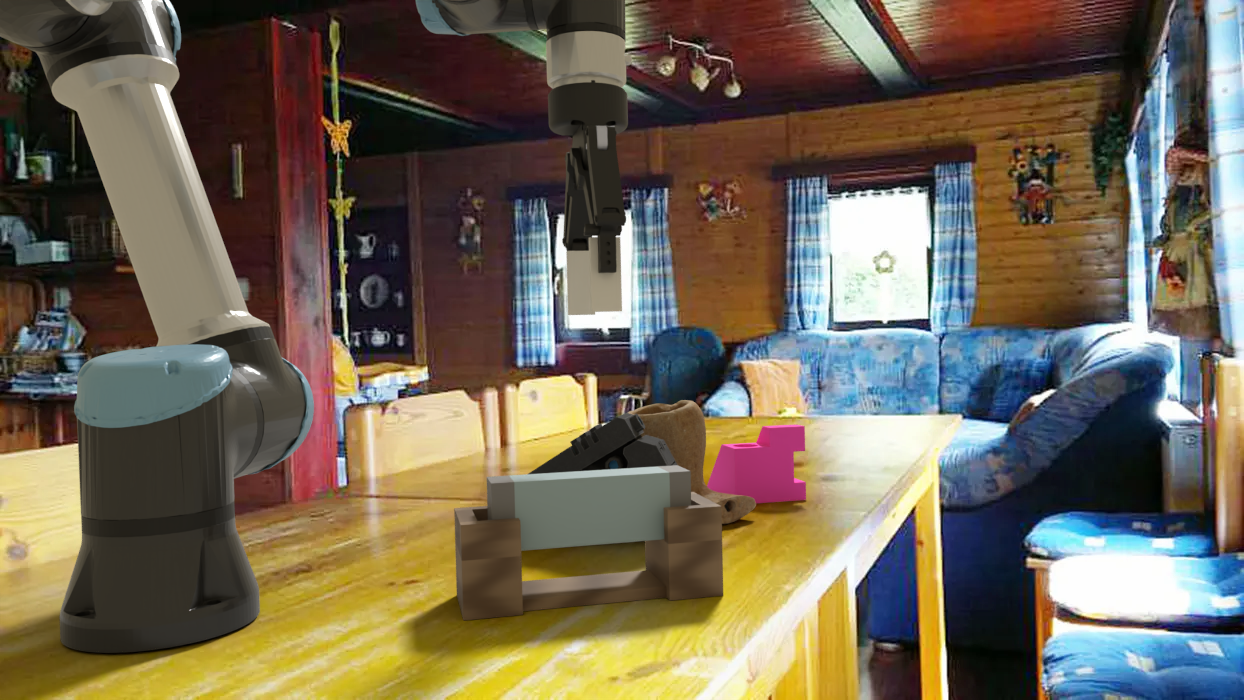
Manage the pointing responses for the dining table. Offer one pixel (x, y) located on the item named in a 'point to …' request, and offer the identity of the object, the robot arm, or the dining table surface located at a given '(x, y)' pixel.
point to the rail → (589, 504)
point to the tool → (611, 449)
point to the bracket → (762, 466)
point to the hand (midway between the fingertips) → (592, 313)
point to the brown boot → (690, 450)
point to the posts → (672, 571)
